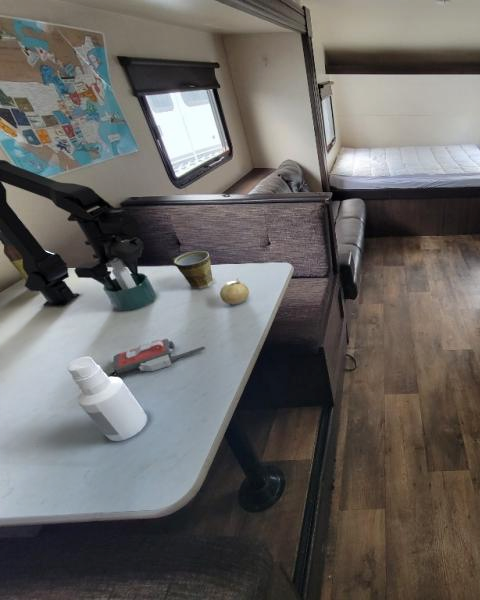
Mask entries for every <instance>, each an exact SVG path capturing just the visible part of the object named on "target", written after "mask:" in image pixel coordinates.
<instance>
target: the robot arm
mask: <svg viewBox="0 0 480 600" xmlns="http://www.w3.org/2000/svg"><path fill="white" fill-rule="evenodd" d="M3 183H4V184H7V185H10V186H12V187H15V188H17V189H20V190H24V191H26V192H28V193H32V194H34V195H37V196H40V197H41V198H42V197H43V198H45V199H48V200H49V201H51V202H52V203H53V205H55V206H56V207H57V208H59V209H61V210H63V211H65V212H67V213H69V214H70V215H69V216H68V217H67V221H68V222H76V223H77V224H78V226H79V228H80V230H81V231H82V233H83V236H84V237H85V238H86V240H84V244H85V245H86V246H90V247H91V249H92V250H93V252H94V254H92V257H93V259H98V260H97V261H85V262H83V263H81V264H80V265H78V266H76V267H75V268H74V274H75V275H76V277H77V278H79V279H92V280H95V281H96V282H98V283H100V284H101V285H103V287H104V286H106V287H108V288H109V289H111V290H112V291H116V290H117V289H116V286H115V285H114V283H113V281H112V277H111V274H112V271H111V270H109V268H108V266H107V265H109V264H110V263H111V262H112V261H114V260H115V259H117V260H120V261H121V262H122V263H123V265H125V267H126V268H127V269H128V271H129V273H130V274H133V275H134V276H138V273H139V269H138V268H139V267H138V258H140V257H142V253H143V250H145V249H146V248H145V245H144V243H143V241H142V240H141V239H140V238H138V237H133V236H136V235H137V234H138V232H139V227H140V226H139V222H138V220H137V219H136V218H135V217H134V216H133V215H132V214H128V213H127V211H126V210H125V209H119V210H115V207H114V206H113V205H112V204H110V202H108V201H107V200H106V199H104V198H103V197H102V196H101V195H99V194H98V193H97V192H96V191H95V190H94V189H93V188H91V187H90V186H86V185H82V184H78V183H72V182H60V181H56V180H53V179H51V178H49V177H45V176H43V175H41V174H38V173H35V172H33V171H30V170H27V169H24V168H22V167H19V166H16V165H14V164H12V163H10V162H9V161H7V160H5V159H0V231H1V232H2V233H3V234H4V236H5V237H6V238H7V239H8V240H9V242H10V243H11V244H12V245H13V246H14V248H15V249H16V250H17V251H18V252H19V254H20V255H21V256H22V259H23V269H24V271H25V272H26V274H27V275H28V278H27V281H25V283H24V287H25V288H26V289H28V290H29V291H30V292H40V294H42V296H43V298H44V299H45V300H46V301H45V302H44V303H42V305H43V306H44V307H64V306H65V305H67V304H68V303H71V302H72V301H74V299H76V298H78V297H79V296H80V293H76V292H75V293H74V292H73V290H72V289H71V288H70V286H69V285H68V284H67V282H65V281H66V279H68V278H69V277H70V275H69V269H68V266H67V265H68V263H67V262H65V261H64V260H63V258H62V256H61V255H60V254H59V253H52V252H50V251H48V250H45V248H44V247H43V246H42V245H41V243H40V242H39V241H38V240H37V238H36V237H35V236H34V235H33V233H32V232H31V231H30V229H29V228H28V227H27V225H26V224H25V223H24V222H23V221H22V219H21V218H20V217H19V216H18V214H17V213H16V212H15V210H14V209H13V208H12V207H11V205H10V204H9V203H8V200H7V199H8V197H7V189H6V187H5V186H4V184H3ZM121 237H133V238H131V239H124V240H122V239H121Z"/></svg>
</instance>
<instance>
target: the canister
mask: <svg viewBox="0 0 480 600" xmlns="http://www.w3.org/2000/svg"><path fill="white" fill-rule="evenodd" d="M130 275H131V276H132V278H133V280H134V282H135V284H136V286H135V287H132V288H129V289H126V290H122V288H121V287H120V285H119V283H118V281H117V280H116V278H115V277H114V278H113V279H112V278H111V279H112V281H113V283H114V285H115V286H116V289H117V290H116V291H112V290H111V289H109V288H108V287H106V286H104V285H103V287H102V289H103V291H104V293H105V295H106V296H107V298H108V299H109V301H110V302H111V304H112V307H113V308H115V310H116V311H118V312H132V311H133V312H134V311H136V310H140V309H142V308H144V307H147V306H149V305H150V304H152V303H153V302H154V301H155V300H156V298H157V293H156V290H155V289H154V287H153V285H152V283H151V281H150V279H149V277H148V276H147V274H145V273H142V272H138V276H134V275H133V274H132V273H130Z"/></svg>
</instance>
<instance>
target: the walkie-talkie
mask: <svg viewBox="0 0 480 600" xmlns="http://www.w3.org/2000/svg"><path fill="white" fill-rule="evenodd" d="M175 348H176V347H175V344H174V342H173V341H172V340H170V341H169V339H168V338H164V339H160V340H159V339H157V340H153V341H151V342H147V343H144V344H140V345H139V346H138V347H135V348H132V349H129V350H126V351H123V352H120V353H116V354H115V355H113V360H112V372H111V371H110V373H109V375H108V377H118V378H124V377H127V376H129V375H132V374H135V373H139V372H142V371H144V372H154V371H158V370H160V369H163V368H166V367H170V366H172V363H173V362H175V361H177V360H180V359H183V358H186V357H190V356H192V355H194V354H196V353H198V352H202V351H204V350H206V347H205V346H201V347H198V348H194V349H192V350H189V351H186V352H183V353H180V354H177V355H175V353H173V352H174V351H173V350H174V349H175Z"/></svg>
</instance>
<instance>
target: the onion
mask: <svg viewBox="0 0 480 600" xmlns="http://www.w3.org/2000/svg"><path fill="white" fill-rule="evenodd" d="M238 278H239V277H238ZM238 278H236V281H233V280H232V281H227V282H226V283H225V284H223V285H222V287H221V288H220V291H219V296H220V299H221V300H222V301H223V302H224V303H225V304H227V305H231V306H232V305H239V304H242V303H244V302H245V301H247V299H248V298H249V295H250V290H249V288H248V286H247V285H246V284H245V283H243V282H241V281H240V280H239V279H238Z"/></svg>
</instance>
